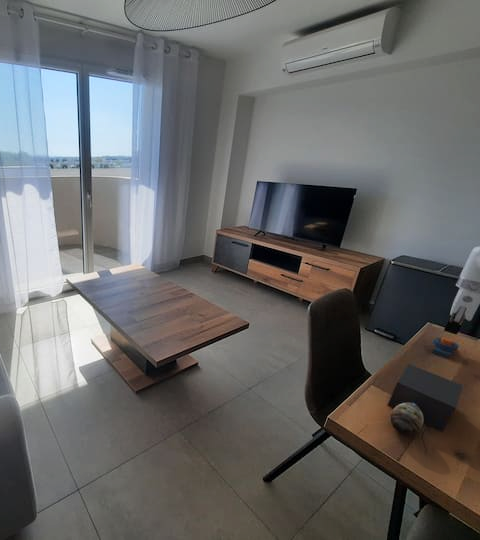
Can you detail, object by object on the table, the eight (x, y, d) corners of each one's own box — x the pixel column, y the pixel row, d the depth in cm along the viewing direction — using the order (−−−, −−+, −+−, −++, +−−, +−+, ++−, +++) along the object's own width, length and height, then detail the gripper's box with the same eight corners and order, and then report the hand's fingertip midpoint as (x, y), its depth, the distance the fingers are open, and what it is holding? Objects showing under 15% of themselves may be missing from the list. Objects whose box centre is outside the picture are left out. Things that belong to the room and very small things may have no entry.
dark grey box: (398, 385, 89) (408, 363, 86) (450, 408, 81) (462, 385, 78) (387, 405, 82) (397, 382, 79) (442, 432, 74) (455, 407, 71)
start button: (451, 347, 102) (453, 342, 101) (439, 342, 104) (441, 338, 103) (452, 343, 103) (454, 339, 103) (440, 339, 106) (442, 335, 105)
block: (452, 360, 100) (456, 351, 99) (428, 351, 104) (432, 343, 103) (456, 349, 105) (460, 341, 104) (433, 341, 110) (437, 333, 109)
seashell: (392, 413, 80) (403, 390, 77) (421, 427, 76) (433, 404, 73) (381, 430, 75) (392, 407, 72) (411, 447, 71) (423, 423, 68)
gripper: (491, 295, 87) (463, 345, 94) (494, 281, 95) (468, 329, 102) (454, 286, 92) (431, 334, 99) (460, 274, 100) (438, 320, 107)
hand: (450, 331), depth 100 cm, fingers closed
